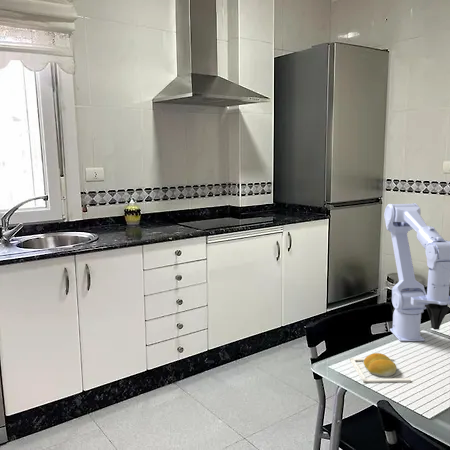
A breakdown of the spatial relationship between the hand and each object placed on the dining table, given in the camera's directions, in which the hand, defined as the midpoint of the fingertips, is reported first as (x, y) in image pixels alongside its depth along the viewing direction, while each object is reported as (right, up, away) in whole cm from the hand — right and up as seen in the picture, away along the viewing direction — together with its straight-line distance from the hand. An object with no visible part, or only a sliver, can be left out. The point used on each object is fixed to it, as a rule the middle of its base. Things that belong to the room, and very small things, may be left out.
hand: (435, 328), depth 132 cm
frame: (-18, -11, -5) cm, 22 cm away
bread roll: (-18, -11, -4) cm, 21 cm away
